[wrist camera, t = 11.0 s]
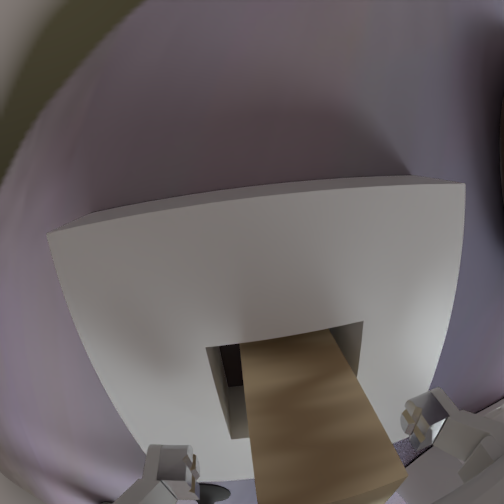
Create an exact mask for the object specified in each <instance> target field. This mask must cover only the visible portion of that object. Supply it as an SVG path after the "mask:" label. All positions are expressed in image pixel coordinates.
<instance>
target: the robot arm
mask: <svg viewBox="0 0 504 504" xmlns="http://www.w3.org/2000/svg"><path fill="white" fill-rule="evenodd" d="M405 408H406V409H405V410H404V411H403V413H402V414H401V417H400V423H401V427H402V429H403V431H404V433H406V434H408V435H410V439H409V441H410V443H411V445H412V446H413V448H414V450H415V451H419V450H421V449H423V448H425V447H427V446H430V445H432V444H433V445H434V446H433V447H432V448H430V449H429V450H428V451H426V452H425V453H424V454H423V455H421V456H420V457H419V458H417V459H416V460H415V461H414V462H412V463H411V464H410V465H409V466H408V467H406V468H405V469H406V471H407V473H408V477H407V478H406V479H405V480H404V482H403V483H402V484H401V485H400V486H399V488H398V489H397V490H396V492H397V493H398V494H399V495H400V496H401V497H402V498H403V499H404V500H405V502H406V503H407V504H504V399H502V400H500V401H499V402H497V403H495V404H493V405H492V406H490V407H488V408H486V409H484V410H482V411H480V412H478V413H477V414H474V413H471V412H468V411H465V410H461V411H460V410H459V409H458V408H457V407H456V406H455V404H454V403H453V402H452V401H451V400H450V398H449V397H448V396H447V395H446V394H445V392H444V391H443V390H442V389H441V388H439V387H437V388H434V389H432V390H430V391H428V392H425V393H423V394H421V395H418V396H416V397H414V398H411V399H409V400H408V401H407V402H406V403H405ZM199 477H200V466H199V461H198V458H197V456H196V455H195V454H193V448H192V447H191V445H161V444H150V445H149V447H148V449H147V454H146V460H145V465H144V471H143V477H142V479H138V480H137V481H136V482H135V483H134V484H133V485H132V486H131V487H130V488H129V489H127V490H126V491H125V492H124V493H123V494H122V495H121V496H120V497H119V498H118V499H117V500H116V501H114V502H113V503H112V504H176V503H177V501H178V500H200V485H199V484H198V482H197V481H196V480H197V479H198V478H199Z"/></svg>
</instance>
